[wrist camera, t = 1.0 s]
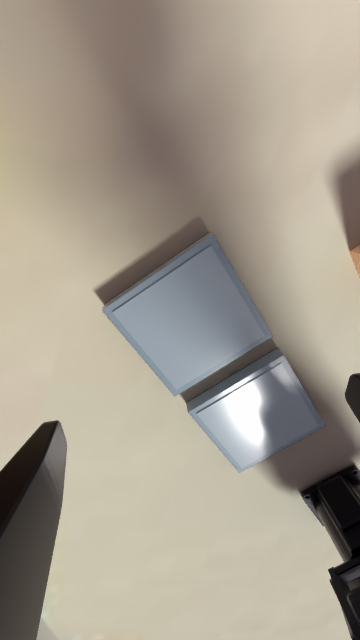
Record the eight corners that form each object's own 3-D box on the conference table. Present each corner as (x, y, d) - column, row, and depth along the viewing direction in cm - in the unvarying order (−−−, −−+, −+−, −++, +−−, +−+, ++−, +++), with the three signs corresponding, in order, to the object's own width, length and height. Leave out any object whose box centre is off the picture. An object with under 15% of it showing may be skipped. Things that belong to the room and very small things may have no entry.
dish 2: (318, 416, 27) (325, 426, 26) (235, 462, 28) (239, 474, 27) (277, 347, 24) (284, 355, 23) (186, 403, 25) (188, 413, 24)
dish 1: (267, 329, 23) (273, 336, 22) (173, 387, 24) (174, 397, 23) (209, 232, 20) (213, 234, 19) (104, 304, 21) (101, 310, 20)
